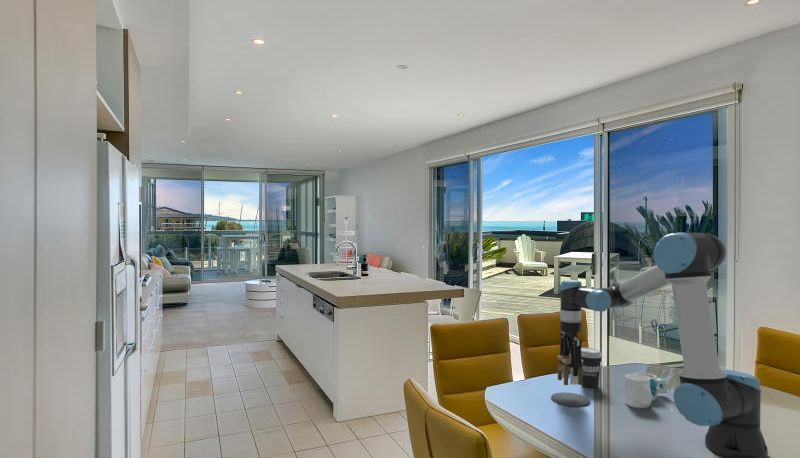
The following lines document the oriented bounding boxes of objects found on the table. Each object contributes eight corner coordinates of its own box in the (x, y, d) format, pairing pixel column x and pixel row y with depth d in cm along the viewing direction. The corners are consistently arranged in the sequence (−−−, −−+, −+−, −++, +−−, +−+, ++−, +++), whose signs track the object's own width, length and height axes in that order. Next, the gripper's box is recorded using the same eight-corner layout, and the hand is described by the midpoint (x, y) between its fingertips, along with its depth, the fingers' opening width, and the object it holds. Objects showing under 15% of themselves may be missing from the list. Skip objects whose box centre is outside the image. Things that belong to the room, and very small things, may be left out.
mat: (597, 406, 173) (597, 405, 173) (560, 407, 172) (560, 406, 172) (579, 393, 187) (579, 392, 187) (545, 394, 186) (545, 392, 186)
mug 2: (629, 393, 188) (629, 372, 188) (657, 392, 189) (657, 371, 189) (642, 400, 179) (642, 378, 179) (671, 399, 181) (671, 377, 181)
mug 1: (661, 412, 168) (661, 383, 168) (639, 413, 167) (639, 384, 167) (641, 400, 180) (641, 373, 180) (620, 401, 179) (620, 373, 179)
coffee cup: (572, 384, 198) (572, 348, 198) (589, 381, 202) (589, 346, 202) (590, 391, 189) (590, 354, 189) (607, 388, 193) (607, 351, 193)
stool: (582, 385, 177) (583, 360, 177) (564, 385, 176) (565, 360, 176) (574, 378, 184) (574, 355, 184) (557, 379, 183) (557, 355, 183)
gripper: (592, 326, 170) (591, 389, 170) (569, 315, 190) (568, 372, 190) (572, 326, 170) (571, 390, 170) (550, 315, 189) (550, 372, 190)
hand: (569, 380), depth 180 cm, fingers closed on stool, 7 cm apart
